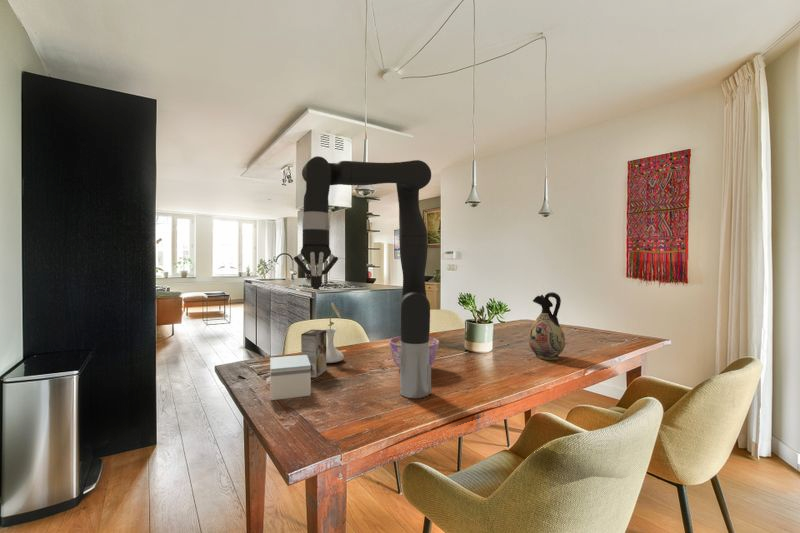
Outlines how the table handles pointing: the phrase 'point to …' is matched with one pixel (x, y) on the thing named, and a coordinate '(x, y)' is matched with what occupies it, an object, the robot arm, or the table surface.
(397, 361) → the purple patterned bowl
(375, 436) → the table surface
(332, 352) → the flower in vase
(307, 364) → the lid
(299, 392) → the crate
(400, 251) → the robot arm
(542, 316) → the ceramic jug
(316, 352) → the coffee box
